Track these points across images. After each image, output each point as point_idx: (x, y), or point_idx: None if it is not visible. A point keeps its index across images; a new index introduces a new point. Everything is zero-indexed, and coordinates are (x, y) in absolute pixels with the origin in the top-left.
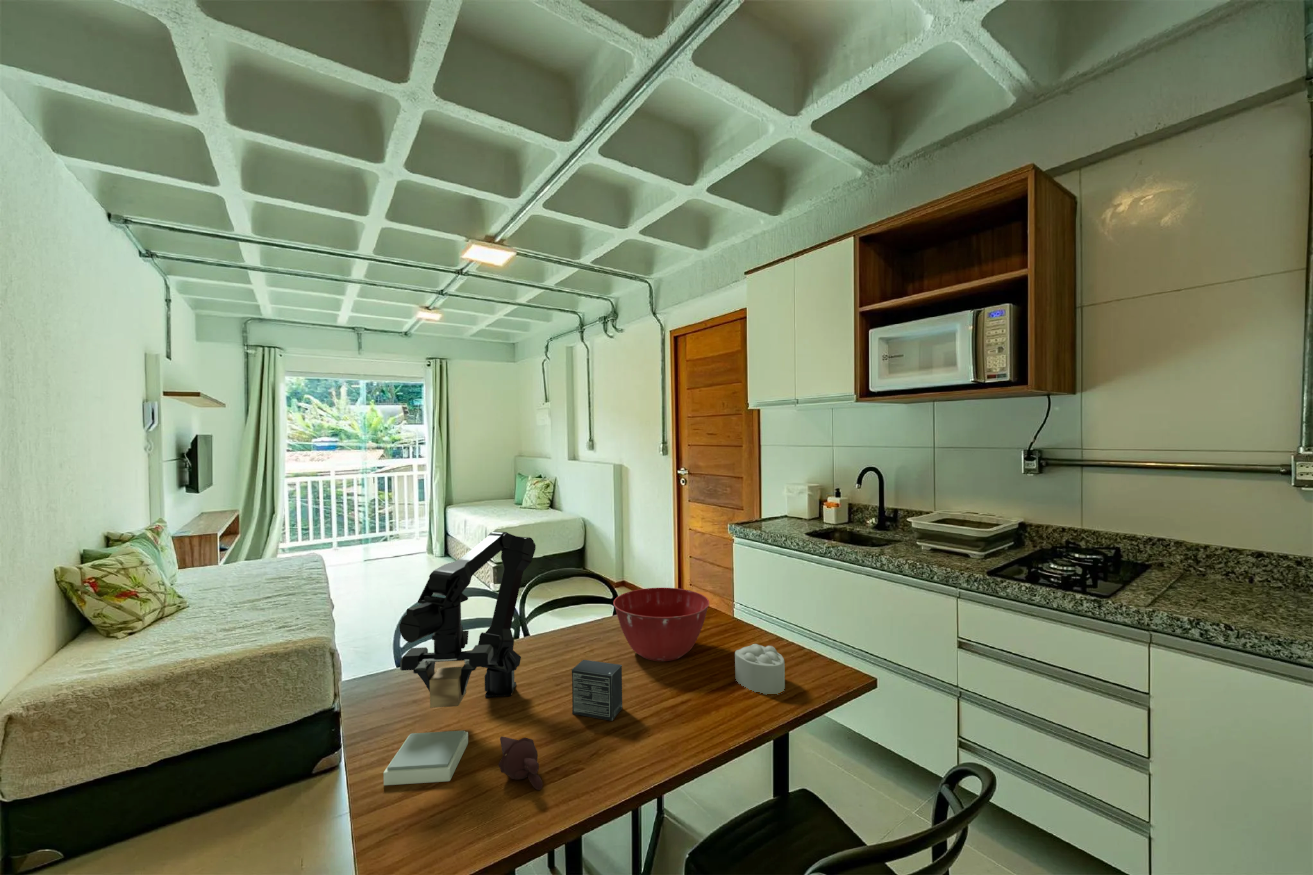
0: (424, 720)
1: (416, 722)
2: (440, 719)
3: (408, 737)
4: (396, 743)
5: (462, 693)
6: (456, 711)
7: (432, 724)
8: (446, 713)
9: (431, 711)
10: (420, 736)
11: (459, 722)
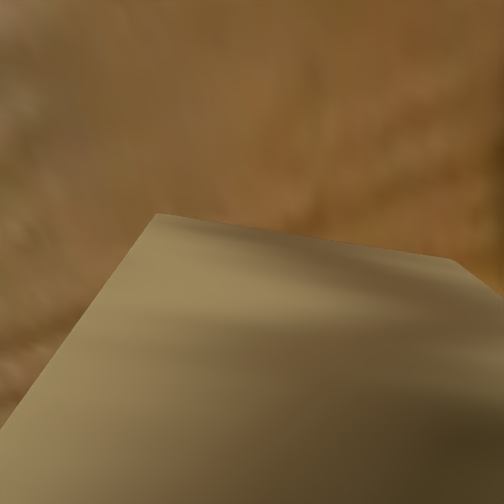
0: (84, 142)
1: (36, 155)
2: (194, 160)
3: None
4: (8, 352)
5: None
6: (292, 72)
7: (155, 210)
8: (222, 82)
9: (96, 9)
10: None
11: (322, 231)
